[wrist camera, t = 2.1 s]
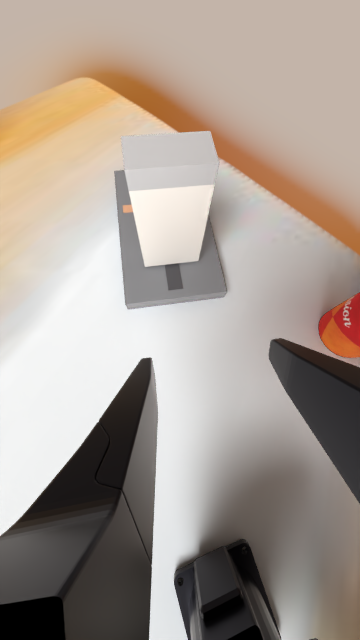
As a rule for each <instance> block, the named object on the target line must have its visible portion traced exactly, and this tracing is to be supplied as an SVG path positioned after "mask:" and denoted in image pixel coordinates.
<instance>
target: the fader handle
mask: <svg viewBox="0 0 360 640" xmlns="http://www.w3.org/2000/svg"><path fill="white" fill-rule="evenodd" d="M121 143H122V153H123V162H124V171H125V176H126V180H127V185H128V190H129V195H130V199H131V204H132V209H133V213H134V218H135V223H136V227H137V232H138V237H139V242H140V246H141V251H142V256H143V260H144V265H145V267H149V266H158V265H167V264H176V263H185V262H194V261H198V260H199V255H200V251H201V246H202V241H203V237H204V232H205V227H206V223H207V218H208V213H209V209H210V204H211V199H212V195H213V190H214V185H215V181H216V176H217V171H218V167H219V160H218V157H217V153H216V150H215V146H214V143H213V139H212V136H211V132H210V131H201V132H183V133H167V134H150V135H133V136H121Z"/></svg>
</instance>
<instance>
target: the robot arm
mask: <svg viewBox="0 0 360 640" xmlns="http://www.w3.org/2000/svg"><path fill="white" fill-rule="evenodd" d="M269 360H270V362H271V364H272V366H273V368H274V370H275V372H276V374H277V375H278V377H279V379H280V381H281V383H282V385H283V387H284V389H285V391H286V392H287V394H288V395H289V397H290V398H291V400H292V401H293V403H294V405H295V406H296V408H297V409H298V411H299V412H300V414H301V415H302V417H303V418H304V420H305V421H306V423H307V424H308V426H309V427H310V429H311V430H312V432H313V433H314V435H315V436H316V438H317V439H318V441H319V443H320V444H321V446H322V447H323V449H324V450H325V452H326V453H327V455H328V456H329V458H330V459H331V461H332V462H333V464H334V465H335V467H336V468H337V470H338V471H339V473H340V474H341V476H342V477H343V479H344V481H345V482H346V484H347V485H348V487H349V488H350V490H351V491H352V493H353V494H354V496H355V497H356V499H357V500H358V502H359V503H360V368H359V367H356V366H354V365H351V364H349V363H346V362H343V361H341V360H338V359H335V358H333V357H330V356H327V355H325V354H322V353H319V352H317V351H314V350H311V349H309V348H306V347H303V346H301V345H298V344H296V343H293V342H290V341H288V340H285V339H282V338H278V339H273V340H271V343H270V349H269ZM157 424H158V406H157V394H156V383H155V373H154V367H153V362H152V358H143V359H141V360H140V362H139V363H138V365H137V366H136V368H135V369H134V370H133V372H132V373H131V375H130V376H129V378H128V379H127V381H126V382H125V383H124V385H123V386H122V388H121V389H120V391H119V392H118V394H117V395H116V396H115V398H114V399H113V401H112V402H111V404H110V405H109V407H108V408H107V409H106V411H105V412H104V414H103V415H102V417H101V418H100V420H99V422H98V423H97V424H96V425H95V427H94V428H93V429H92V431H91V432H90V434H89V435H88V436H87V438H86V439H85V441H84V442H83V443H82V445H81V446H80V447H79V448H78V450H77V451H76V452H75V453H74V455H73V456H72V457H71V458H70V460H69V461H68V462H67V463H66V465H65V466H64V467H63V468H62V469H61V471H60V472H59V473H58V474H57V475H56V477H55V478H54V479H53V480H52V481H51V483H50V484H49V485H48V486H47V487H46V489H45V490H44V491H43V492H42V493H41V495H40V496H39V497H38V498H37V499H36V500H35V502H34V503H33V504H32V505H31V506H30V508H29V509H28V510H27V511H26V512H25V513H24V514H23V516H22V517H21V518H20V519H19V520H18V521H17V522H16V523H15V524H14V525H12V526H11V527H10V528H9V529H8V530H7V531H6V532H5V533H3V534H2V535H1V536H0V640H149V623H150V599H151V574H152V566H151V565H152V548H153V523H154V498H155V474H156V449H157ZM242 547H246V550H245V551H242ZM179 577H181V578H183V580H182V581H181V582H179V581H178V578H179ZM174 585H175V589H176V593H177V597H178V601H179V605H180V609H181V613H182V617H183V621H184V625H185V629H186V633H187V637H188V640H281V636H280V633H279V630H278V627H277V624H276V621H275V619H274V616H273V613H272V610H271V607H270V604H269V601H268V598H267V595H266V592H265V589H264V587H263V584H262V581H261V578H260V575H259V572H258V569H257V566H256V563H255V560H254V557H253V554H252V552H251V549H250V546H249V544H248V542H247V541H246V540H243V539H242V540H239V541H237V542H235V543H233V544H231V545H229V546H227V547H220V548H218V549H216V550H214V551H212V552H210V553H208V554H206V555H204V556H201V557H199V558H197V559H196V560H195V562H193V563H191V564H189V565H187V566H185V567H183V568H181V569H178V570H177V571H176V572H175V574H174ZM310 640H318V639H317V638H313V639H310Z"/></svg>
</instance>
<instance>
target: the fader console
mask: <svg viewBox="0 0 360 640" xmlns="http://www.w3.org/2000/svg"><path fill="white" fill-rule="evenodd" d="M114 173H115V185H116V198H117V210H118V222H119V234H120V246H121V258H122V270H123V282H124V294H125V305H126V306H127V308H128V309H135V308H143V307H150V306H158V305H166V304H174V303H182V302H190V301H198V300H205V299H213V298H221V297H224V296H225V294H226V292H227V290H226V286H225V282H224V278H223V273H222V269H221V265H220V261H219V257H218V253H217V248H216V244H215V240H214V236H213V232H212V228H211V223H210V219H209V215H208V218H207V223H206V227H205V232H204V237H203V241H202V246H201V251H200V255H199V260H198V261H194V262H185V263H176V264H167V265H158V266H149V267H145V265H144V260H143V256H142V251H141V246H140V242H139V237H138V232H137V227H136V223H135V218H134V213H133V209H132V204H131V199H130V195H129V190H128V185H127V180H126V176H125V171H124V170H122V171H114Z"/></svg>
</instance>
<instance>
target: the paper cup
mask: <svg viewBox="0 0 360 640" xmlns="http://www.w3.org/2000/svg"><path fill="white" fill-rule="evenodd" d="M318 329H319V335H320V338H321V340H322V342H323V343H324V345H325V346H326V347H327V348H328V349H329V350H330V351H331V352H333V353H335V354H336V355H339V356H342V357H348V358H354V357H360V292H359V293H358V294H356V295H354V296H353V297H351V298H349V299H348V300H346V301H344V302H343V303H341V304H339V305H338V306H336V307H335V308H333V309H331V310H330V311H328V312H327V313H326V314H324V315H323V317H322V318H321V319H320V322H319V327H318Z"/></svg>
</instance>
